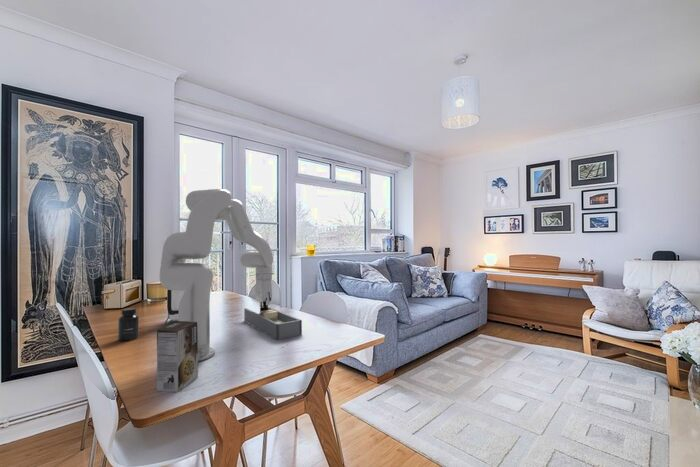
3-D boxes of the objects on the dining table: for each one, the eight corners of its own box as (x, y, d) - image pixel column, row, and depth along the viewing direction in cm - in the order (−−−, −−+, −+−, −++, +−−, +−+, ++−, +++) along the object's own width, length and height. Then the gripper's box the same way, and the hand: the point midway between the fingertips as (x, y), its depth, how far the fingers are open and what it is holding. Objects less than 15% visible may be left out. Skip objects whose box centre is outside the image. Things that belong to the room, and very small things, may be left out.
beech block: (277, 320, 146) (277, 311, 146) (264, 322, 143) (264, 313, 143) (272, 317, 151) (272, 309, 151) (259, 320, 147) (259, 311, 147)
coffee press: (159, 321, 157) (159, 260, 158) (194, 315, 168) (193, 258, 168) (167, 328, 144) (167, 261, 145) (204, 321, 155) (204, 259, 155)
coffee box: (177, 376, 93) (177, 320, 93) (198, 377, 92) (198, 321, 93) (155, 391, 84) (155, 329, 84) (178, 392, 83) (178, 330, 83)
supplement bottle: (126, 342, 125) (126, 311, 125) (113, 340, 127) (113, 310, 127) (142, 337, 131) (142, 307, 131) (130, 335, 133) (130, 306, 134)
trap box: (301, 334, 132) (301, 320, 133) (276, 339, 126) (276, 324, 126) (265, 317, 163) (265, 305, 163) (244, 320, 156) (244, 308, 156)
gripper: (250, 276, 155) (250, 314, 155) (262, 279, 143) (262, 320, 143) (265, 274, 159) (265, 311, 159) (277, 277, 147) (278, 317, 147)
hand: (264, 315), depth 151 cm, fingers closed
